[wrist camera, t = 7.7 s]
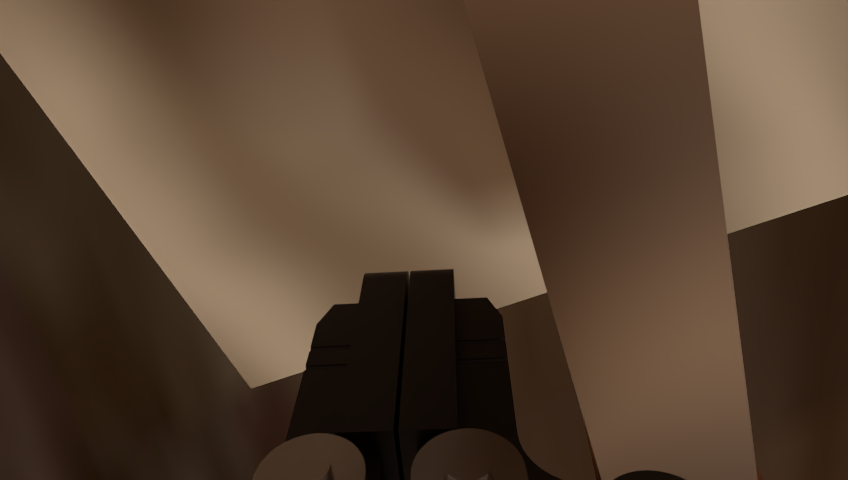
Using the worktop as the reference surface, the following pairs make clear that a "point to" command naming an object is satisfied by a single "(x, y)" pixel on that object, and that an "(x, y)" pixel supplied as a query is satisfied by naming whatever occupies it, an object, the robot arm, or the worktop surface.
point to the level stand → (372, 143)
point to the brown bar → (626, 222)
